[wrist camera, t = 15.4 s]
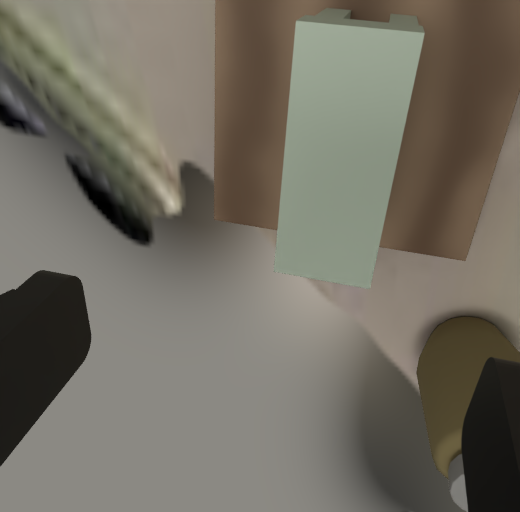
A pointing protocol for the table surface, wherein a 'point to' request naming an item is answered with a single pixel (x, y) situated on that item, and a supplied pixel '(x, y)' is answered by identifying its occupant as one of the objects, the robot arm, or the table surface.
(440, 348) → the squeeze bottle
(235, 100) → the platform
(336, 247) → the stool
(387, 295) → the table surface
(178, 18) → the table surface
